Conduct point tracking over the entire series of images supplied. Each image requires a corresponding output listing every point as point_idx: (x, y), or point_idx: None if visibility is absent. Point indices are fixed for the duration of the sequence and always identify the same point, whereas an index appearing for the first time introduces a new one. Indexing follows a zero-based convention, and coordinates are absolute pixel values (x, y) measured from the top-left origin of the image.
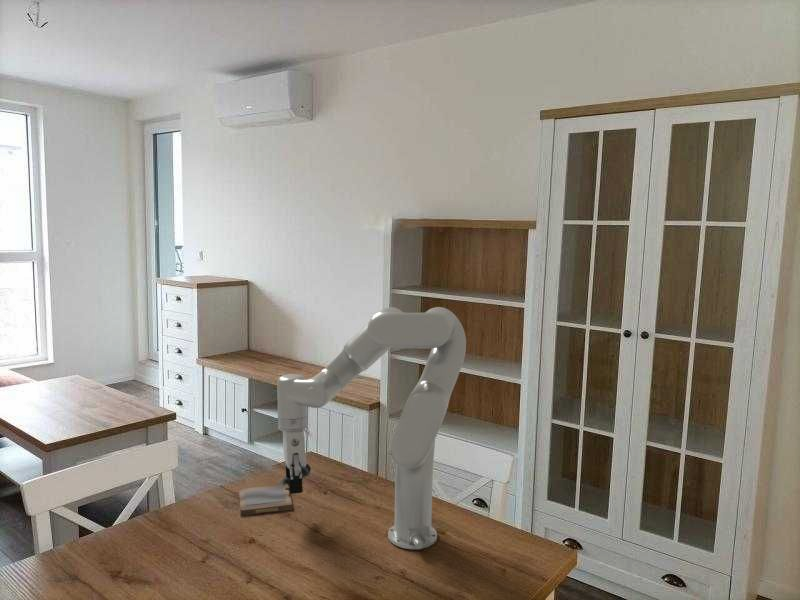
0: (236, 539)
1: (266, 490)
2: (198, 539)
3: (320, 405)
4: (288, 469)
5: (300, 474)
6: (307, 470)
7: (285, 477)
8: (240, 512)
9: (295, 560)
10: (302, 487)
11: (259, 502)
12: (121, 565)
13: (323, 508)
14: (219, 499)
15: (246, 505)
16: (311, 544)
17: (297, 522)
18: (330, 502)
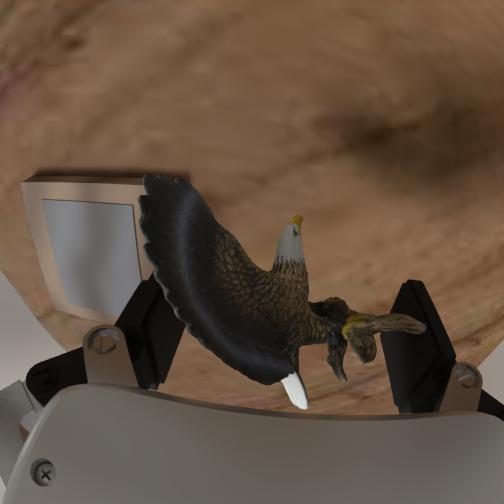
0: (312, 353)
1: (58, 251)
2: (274, 400)
3: None
4: (167, 360)
5: (476, 396)
6: (181, 216)
7: (307, 399)
8: None
9: (485, 251)
10: (294, 233)
11: (133, 287)
12: None
13: (196, 57)
14: None
15: None
16: (449, 185)
17: (283, 183)
18: (153, 25)
